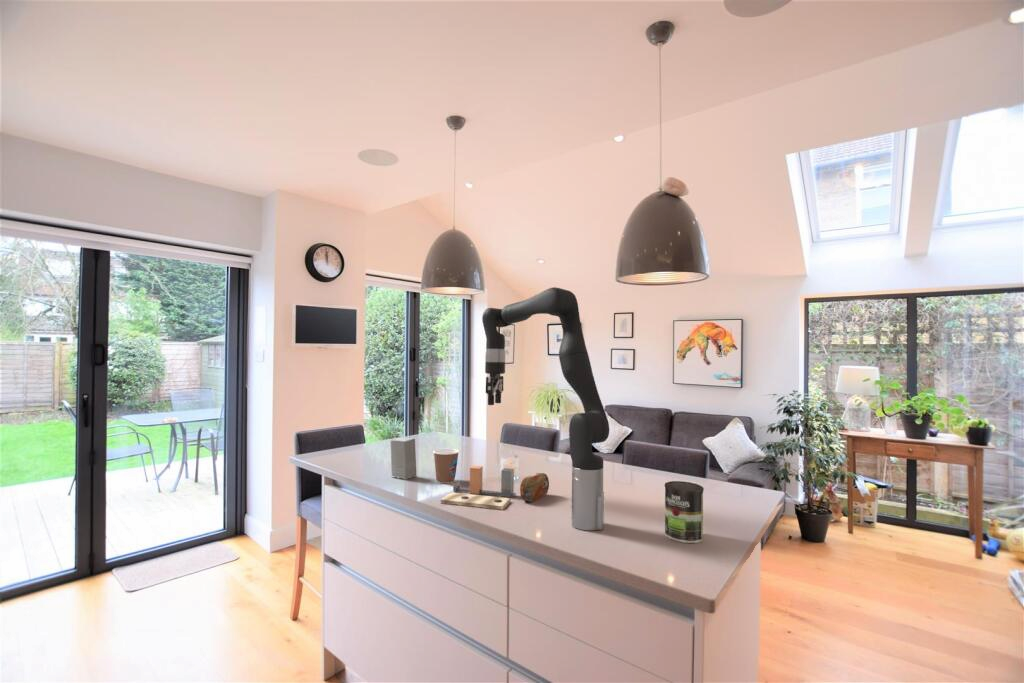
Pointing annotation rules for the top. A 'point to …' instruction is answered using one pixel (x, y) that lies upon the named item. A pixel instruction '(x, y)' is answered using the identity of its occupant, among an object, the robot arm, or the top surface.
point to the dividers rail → (506, 485)
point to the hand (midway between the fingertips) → (494, 404)
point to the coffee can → (684, 511)
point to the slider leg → (476, 479)
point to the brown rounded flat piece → (534, 487)
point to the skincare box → (403, 458)
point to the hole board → (476, 500)
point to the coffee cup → (445, 464)
